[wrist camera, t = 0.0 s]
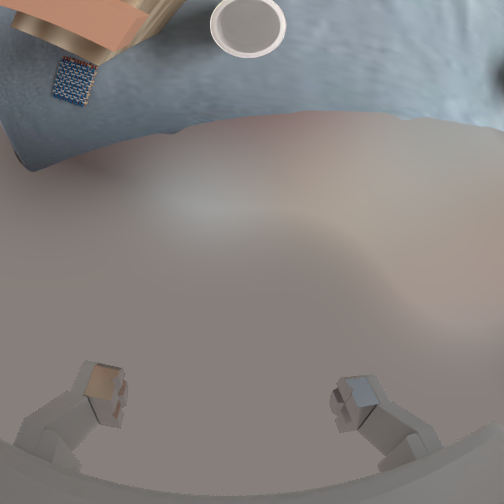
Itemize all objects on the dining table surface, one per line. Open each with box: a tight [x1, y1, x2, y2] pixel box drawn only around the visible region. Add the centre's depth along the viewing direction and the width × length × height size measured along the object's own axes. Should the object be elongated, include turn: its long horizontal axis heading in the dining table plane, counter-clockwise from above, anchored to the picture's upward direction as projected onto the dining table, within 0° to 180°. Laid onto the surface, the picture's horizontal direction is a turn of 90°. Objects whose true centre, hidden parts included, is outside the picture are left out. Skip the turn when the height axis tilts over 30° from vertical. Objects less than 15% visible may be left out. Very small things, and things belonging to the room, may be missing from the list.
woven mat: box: [52, 56, 98, 107], centre depth 42 cm, size 10×11×2 cm
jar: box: [210, 0, 286, 58], centre depth 33 cm, size 11×10×15 cm
